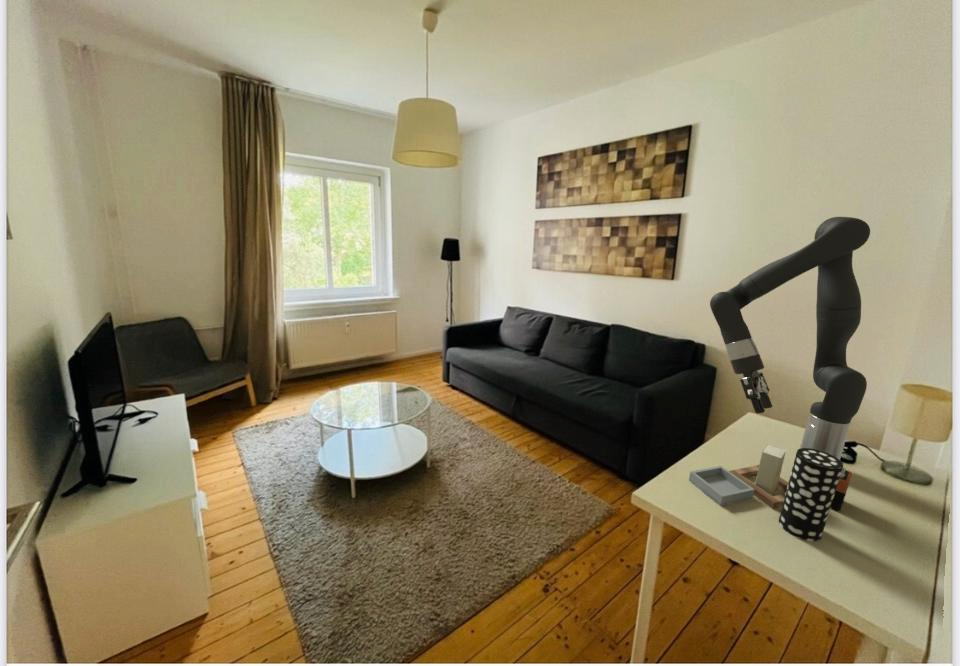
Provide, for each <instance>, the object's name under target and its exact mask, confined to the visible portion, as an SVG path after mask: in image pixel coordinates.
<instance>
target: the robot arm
mask: <svg viewBox="0 0 960 666" xmlns="http://www.w3.org/2000/svg"><path fill="white" fill-rule="evenodd" d="M870 235H871V228H870V225H869V224H868V223H867V222H866V221H864V220H863V219H861V218H857V217H850V216H849V217H848V216H833V217H830V218H828V219H826V220H823V222H821V223H820V224H819V225H818V227H817V228H816V231H815V233H814V238H813V239H814V240H813V241H811V242H810V243H809V244H807V245H805V246H804V247H802V248H800V249H799V250H797V251H794V252H793V253H791V254H788V255H787V256H784V257H782V258H780V259H777V260H775V261H772V262H770V263H768V264H766V265H764V266H762V267H760V268H759V269H757V270H756V271H754V272H752V273H751V274H749V275H748V276H746V277H745V278H743V279H742V280H740V281H739V282H738V284H736V285H734V286H733V287H730V289H728V290H727V291H720V292H719V291H718V292H717V293H715V294H714V295H713V296H712V297H711V299H710V301H709V307H710V310H711V312H712V314H713V317H714V319H715V321H716V323H717V325H718V327H719V330H720V334H721V337H722V339H723V343H724V345H725V349H726V353H727V357H728V359H729V362H730V364H731V367H732V370H733V373H734V374H735V375H741V374H742V376H743V377H741V378H739V379H740V380H739V381H740V384H741V385H742V386H741V387H742V389H743V392H744V395H745V398H746V399H747V400H749V401H750V402H751V404H752V407H753V410H754V412H755V414H763V413H764V414H765V412H766V409H771V408H773V404H772V401H771V398H770V396H769V392H770V388H769V386H768V383H767V380H766V379H765V376H764V373H763V372H762V371H760V370H764V368H765V365H764V362H763V359H762V358H761V354H760V352H759V348H758V347H757V345H756V343H755V341H754V339H753V337H752V334H751V332H750V329H749V326H748V325H747V324H746V322H745V320H744V317H743V314H742V311H741V310H742V309H743V308H745V307H746V306H748V305H749V304H750V303H752V302H753V301H755V300H757V299H760V298H761V297H763V296H765V295H767V294H768V293H771V292H772V291H774V290H775V289H777V288H779V287H780V286H782V285H785V284H786V283H787V282H789V281H791V280H793V279H794V278H797V277H799V276H800V275H802V274H805V273H806V272H809V271H811V270H813V269H815V268H817V284H816V305H815V306H816V308H815V309H816V311H815V314H816V315H815V316H816V349H815V350H816V351H815V358H814V363H813V371H812V379H813V382H814V384H815V385H816V386H817V387H818V389H820V390H821V391H823V392H824V393H825V395H824V397H823V400H822V401H816V402H813V403H812V404H811V406H810V410H809V414H808V417H807V421H806V425H805V429H804V431H803V436H802V439H801V444H800V447H799V449H800V448H811V449H817V450H820V451H823V452H826V453H829V454H831V455H833V456H835V457H836V458H838V459H839V460H840V461H841V457H842V455H843V451H844V449H845V444H846V443H845V442H846V439H847V435H848V433H849V430H850V429H849V428H850V424H851V422H852V419H853V418H854V417H855V416H856V415H857V413H858V411H860V408H861V404H862V403H863V399H864V397H865V394H866V392H867V386H868V382H867V379H866V377H865V375H864V374H863V373H862V372H860V371H858V370H856V369H854V368H851V367H850V366H848V363H847V347H848V344H849V341H850V340H851V338H852V337H853V336H854V335H855V333H856V331H857V329H858V328H859V326H860V324H861V319H862V298H861V297H862V296H861V292H860V288H859V285H858V282H857V279H856V276H855V273H854V268H853V255H854V254H853V253H854V251H856V250H859V249H860V248H862V247H863V246H864V245H865V244H866V243H867V241H868V240H869V238H870ZM758 371H759V372H758Z"/></svg>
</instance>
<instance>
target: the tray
mask: <svg viewBox="0 0 960 666" xmlns="http://www.w3.org/2000/svg"><path fill="white" fill-rule="evenodd" d="M729 471H730V470H728V469H727V468H725V467H723V466H722V465H718V466H713V467H707V468H702V469H697V470H692V471H689V478H688V481H689V482H690V483H691V484H693V485H694V486H695V487H696V488H698V489H699V490H700V491H701V492H702V493H704V495H706V496H707V497H709V498H710V500H711V499H712V501H714V503H716V504H717V505H718V506H720V507H723V506H726V505H730V504H736V503H739V502H744V501H750V500H753V499H754V491H755V489H753V488H752V487H751V486H749V485H748V484H746V483H745V482H743V481H742V480H741V479H739V478H738V477H736V476H735V475H733V474H732V473H730V472H729Z"/></svg>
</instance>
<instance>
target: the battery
mask: <svg viewBox="0 0 960 666" xmlns="http://www.w3.org/2000/svg"><path fill="white" fill-rule="evenodd" d="M852 475H853V473H852V472H851V471H849V470H846V468H845V467H843V469H842V472H841V475H840V478H839V482H838V485H837V488H836V491H835V495H834V498H833V501H832V504H831V508H830V509H832V510H834V511H837V512H840V511H841V510H842V507H843V504H844V501H845V498H846V494H847V491H848V488H849V485H850V481H851V478H852Z"/></svg>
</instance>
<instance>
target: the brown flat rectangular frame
mask: <svg viewBox="0 0 960 666" xmlns="http://www.w3.org/2000/svg"><path fill="white" fill-rule="evenodd" d="M758 469H759V464H756V465H752V466H751V465H750V466H747V467H746V466H745V467H742V468H736V469H732V470H731V469H730V470H728V471H729V472H730V473H732V474H733V475H735V476H736V477H738V478H739V479H741V480H742V481H743V482H745V483H746V484H748V485H749V486H751V487H752V488H753V489H755V491H754V495H753V497H755V498H756V499H758V500H760V501H761V502H762V503H763V504H765V505H766V506H768V507H769V508H770V509H771V510H775V509H778V508H779V509H780V508H782V505H783V501H784V498H785V494H786V490H787V486H788V483H789V481H787V480H785V479H783V478H782V477H781V476H780V478H779V482H778V486H777V489H778V488H779V489H780V490H782V491H783V492H784V493H782V494H779V495H778V494H777V495H770V494H769V493H767V492H766V491H764V490H763V489H761V488H760V487H758V486H757V485H755V483H754V482H752V480H749V479H748V478H755V477H757V473H758Z"/></svg>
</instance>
